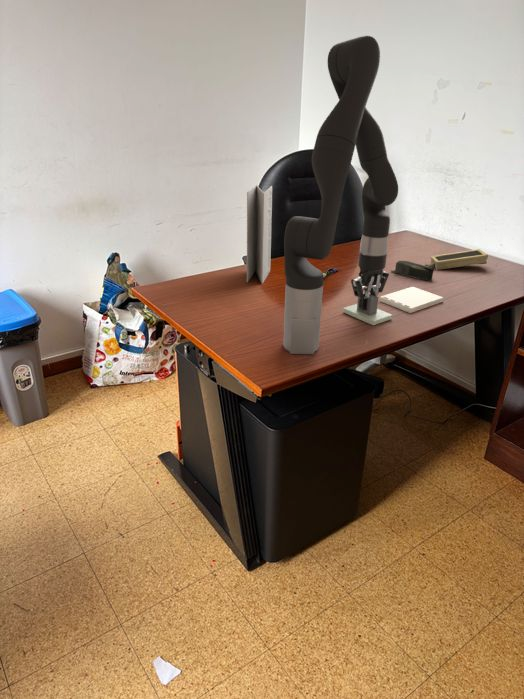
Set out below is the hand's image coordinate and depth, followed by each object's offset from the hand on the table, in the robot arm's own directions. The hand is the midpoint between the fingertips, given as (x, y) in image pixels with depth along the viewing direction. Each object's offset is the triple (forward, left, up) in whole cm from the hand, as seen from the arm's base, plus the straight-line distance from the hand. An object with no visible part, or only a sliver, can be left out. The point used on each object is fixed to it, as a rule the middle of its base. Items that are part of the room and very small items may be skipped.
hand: (366, 308), depth 154 cm
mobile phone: (+38, -22, -3) cm, 44 cm away
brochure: (+34, +32, -3) cm, 47 cm away
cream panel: (+13, -16, -3) cm, 21 cm away
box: (+49, -41, -3) cm, 64 cm away
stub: (0, 0, -2) cm, 2 cm away
